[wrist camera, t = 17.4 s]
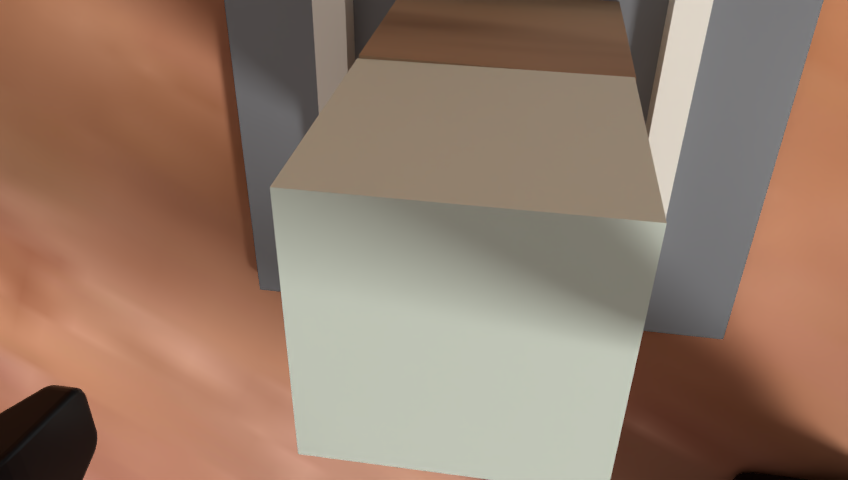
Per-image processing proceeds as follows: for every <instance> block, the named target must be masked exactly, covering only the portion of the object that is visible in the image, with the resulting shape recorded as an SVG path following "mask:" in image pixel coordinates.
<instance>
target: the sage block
mask: <svg viewBox="0 0 848 480" xmlns="http://www.w3.org/2000/svg"><path fill="white" fill-rule="evenodd" d="M270 194H271V203H272V213H273V222H274V232H275V241H276V250H277V260H278V269H279V278H280V288H281V297H282V307H283V316H284V325H285V335H286V344H287V353H288V363H289V372H290V382H291V391H292V400H293V410H294V419H295V429H296V438H297V447H298V454H302V455H310V456H317V457H325V458H332V459H340V460H347V461H355V462H362V463H370V464H377V465H384V466H392V467H399V468H407V469H414V470H422V471H429V472H437V473H444V474H452V475H459V476H467V477H474V478H482V479H489V480H610V479H611V475H612V470H613V466H614V461H615V456H616V452H617V447H618V443H619V438H620V434H621V429H622V425H623V420H624V416H625V411H626V406H627V402H628V397H629V393H630V388H631V384H632V379H633V375H634V370H635V366H636V361H637V357H638V352H639V347H640V343H641V338H642V334H643V329H644V325H645V320H646V316H647V311H648V307H649V302H650V297H651V293H652V288H653V284H654V279H655V275H656V270H657V266H658V261H659V257H660V252H661V247H662V243H663V238H664V234H665V229H666V225H667V221H666V217H665V212H664V208H663V203H662V199H661V194H660V190H659V185H658V180H657V176H656V171H655V167H654V162H653V158H652V153H651V148H650V144H649V139H648V135H647V130H646V126H645V121H644V117H643V112H642V107H641V103H640V98H639V94H638V89H637V85H636V80H635V77H624V76H609V75H595V74H580V73H566V72H551V71H536V70H522V69H507V68H492V67H478V66H463V65H449V64H434V63H419V62H405V61H390V60H376V59H361V58H357V59H356V61H355V62H354V64H353V65H352V67H351V68H350V70H349V71H348V72H347V74H346V75H345V77H344V78H343V80H342V81H341V83H340V84H339V86H338V87H337V89H336V90H335V92H334V93H333V95H332V96H331V98H330V99H329V101H328V102H327V103H326V105H325V106H324V108H323V109H322V111H321V112H320V114H319V115H318V117H317V118H316V120H315V121H314V123H313V124H312V126H311V127H310V129H309V130H308V132H307V133H306V134H305V136H304V137H303V139H302V140H301V142H300V143H299V145H298V146H297V148H296V149H295V151H294V152H293V154H292V155H291V157H290V158H289V160H288V161H287V162H286V164H285V165H284V167H283V168H282V170H281V171H280V173H279V174H278V176H277V177H276V179H275V180H274V182H273V183H272V185H271V186H270Z"/></svg>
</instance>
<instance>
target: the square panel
mask: <svg viewBox="0 0 848 480" xmlns="http://www.w3.org/2000/svg"><path fill="white" fill-rule="evenodd" d="M395 1H396V0H224V2H225V11H226V19H227V27H228V35H229V43H230V51H231V59H232V67H233V75H234V83H235V91H236V99H237V107H238V115H239V123H240V132H241V140H242V148H243V156H244V164H245V172H246V180H247V188H248V196H249V204H250V212H251V220H252V228H253V236H254V245H255V253H256V261H257V269H258V277H259V285H260V289H261V290H270V291H280V292H281V288H280V278H279V269H278V260H277V250H276V241H275V232H274V222H273V213H272V203H271V194H270V186H271V185H272V183H273V182H274V180H275V179H276V177H277V176H278V174H279V173H280V171H281V170H282V168H283V167H284V165H285V164H286V162H287V161H288V160H289V158H290V157H291V155H292V154H293V152H294V151H295V149H296V148H297V146H298V145H299V143H300V142H301V140H302V139H303V137H304V136H305V134H306V133H307V132H308V130H309V129H310V127H311V126H312V124H313V123H314V121H315V120H316V118H317V117H318V115H319V114H320V112H321V111H322V109H323V108H324V106H325V105H326V103H327V102H328V101H329V99H330V98H331V96H332V95H333V93H334V92H335V90H336V89H337V87H338V86H339V84H340V83H341V81H342V80H343V78H344V77H345V75H346V74H347V72H348V71H349V70H350V68H351V67H352V65H353V64H354V62H355V61H356V59H357V58H359V54H360V53H361V51H362V50H363V48H364V47H365V45H366V44H367V42H368V41H369V39H370V38H371V36H372V35H373V33H374V32H375V31H376V29H377V28H378V26H379V25H380V23H381V22H382V20H383V19H384V17H385V16H386V14H387V13H388V11H389V10H390V8H391V7H392V6H393V4H394V3H395ZM603 1H616V2H620V7H621V11H622V16H623V20H624V25H625V29H626V34H627V38H628V43H629V47H630V52H631V56H632V61H633V65H634V70H635V74H636V85H637V89H638V94H639V98H640V103H641V107H642V112H643V117H644V121H645V126H646V130H647V135H648V139H649V144H650V148H651V153H652V158H653V162H654V167H655V171H656V176H657V180H658V185H659V190H660V194H661V199H662V203H663V208H664V212H665V217H666V221H667V225H666V229H665V234H664V238H663V243H662V247H661V252H660V257H659V261H658V266H657V270H656V275H655V279H654V284H653V288H652V293H651V297H650V302H649V307H648V311H647V316H646V320H645V325H644V329H643V331H650V332H659V333H669V334H678V335H687V336H696V337H706V338H715V339H723V338H724V334H725V331H726V328H727V324H728V321H729V318H730V314H731V311H732V307H733V304H734V301H735V297H736V294H737V291H738V287H739V284H740V280H741V277H742V274H743V270H744V267H745V264H746V260H747V257H748V253H749V250H750V247H751V243H752V240H753V237H754V233H755V230H756V226H757V223H758V220H759V216H760V213H761V210H762V206H763V203H764V199H765V196H766V193H767V189H768V186H769V183H770V179H771V176H772V172H773V169H774V166H775V162H776V159H777V156H778V152H779V149H780V145H781V142H782V139H783V135H784V132H785V129H786V125H787V122H788V118H789V115H790V112H791V108H792V105H793V102H794V98H795V95H796V91H797V88H798V85H799V81H800V78H801V75H802V71H803V68H804V64H805V61H806V58H807V54H808V51H809V48H810V44H811V41H812V37H813V34H814V31H815V27H816V24H817V20H818V17H819V14H820V10H821V7H822V4H823V0H603Z"/></svg>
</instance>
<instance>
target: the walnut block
mask: <svg viewBox="0 0 848 480" xmlns="http://www.w3.org/2000/svg"><path fill="white" fill-rule="evenodd" d="M359 58H361V59H376V60H390V61H405V62H419V63H434V64H449V65H463V66H478V67H492V68H507V69H522V70H536V71H551V72H566V73H580V74H595V75H609V76H624V77H635V80H636V74H635V70H634V65H633V61H632V56H631V52H630V47H629V43H628V38H627V34H626V29H625V25H624V20H623V16H622V11H621V7H620V2H616V1H603V0H396V1H395V3H394V4H393V6H392V7H391V8H390V10H389V11H388V13H387V14H386V16H385V17H384V19H383V20H382V22H381V23H380V25H379V26H378V28H377V29H376V31H375V32H374V33H373V35H372V36H371V38H370V39H369V41H368V42H367V44H366V45H365V47H364V48H363V50H362V51H361V53H360V54H359Z"/></svg>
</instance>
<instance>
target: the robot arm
mask: <svg viewBox="0 0 848 480" xmlns="http://www.w3.org/2000/svg"><path fill="white" fill-rule="evenodd" d="M96 445H97V431H96V427H95V424H94V421H93V418H92V414H91V411H90V408H89V405H88V401H87V398H86V395H85V393H84V392H83V391H82V390H81V389H78V388H74V387H66V386H58V385H51V386H47V387H45V388H43V389H41V390H39V391H38V392H36V393H34V394H32V395H31V396H29V397H27V398H26V399H24V400H22V401H21V402H19V403H17V404H15V405H14V406H12V407H10V408H9V409H7V410H5V411H4V412H2V413H0V480H83V478H84V476H85V473H86V471H87V468H88V466H89V464H90V461H91V459H92V457H93V454H94V452H95V449H96ZM733 480H806V479H798V478H791V477H783V476H775V475H767V474H759V473H742V474H739V475H737V476H736V477H734V479H733Z"/></svg>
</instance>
